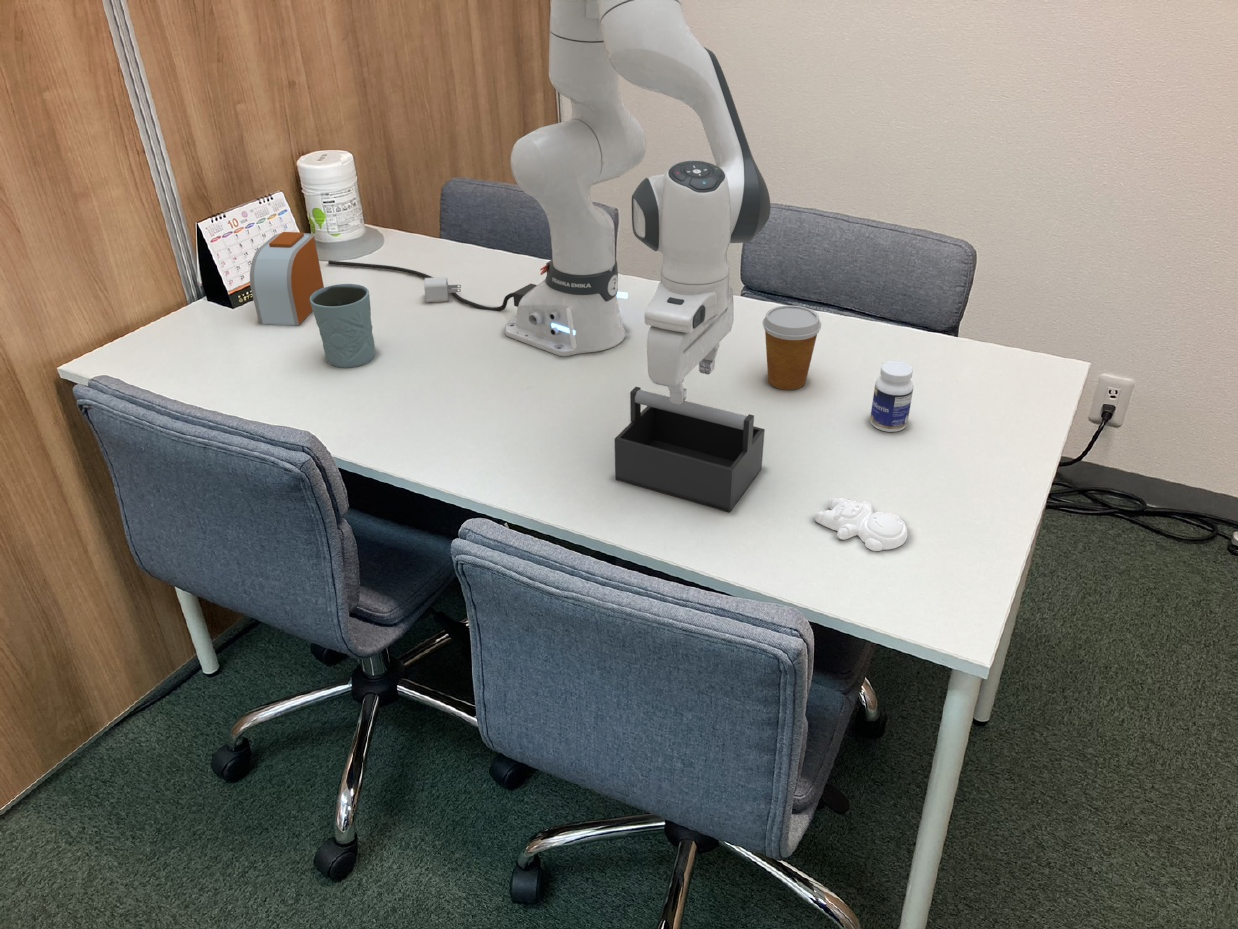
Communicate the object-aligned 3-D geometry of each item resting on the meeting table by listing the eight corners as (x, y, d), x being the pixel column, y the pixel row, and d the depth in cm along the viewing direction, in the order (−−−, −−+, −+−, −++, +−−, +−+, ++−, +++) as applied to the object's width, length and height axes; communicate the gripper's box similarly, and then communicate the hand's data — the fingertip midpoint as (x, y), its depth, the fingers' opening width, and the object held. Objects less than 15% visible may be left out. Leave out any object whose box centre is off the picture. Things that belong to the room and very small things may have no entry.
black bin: (614, 479, 144) (613, 407, 137) (651, 440, 152) (651, 371, 146) (730, 512, 136) (734, 439, 130) (762, 469, 145) (767, 398, 139)
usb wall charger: (427, 295, 199) (425, 276, 197) (461, 293, 200) (459, 274, 198) (426, 303, 196) (423, 284, 194) (461, 301, 197) (459, 282, 194)
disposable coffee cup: (814, 397, 163) (821, 331, 156) (756, 392, 164) (760, 326, 158) (816, 370, 170) (823, 306, 164) (760, 365, 172) (765, 302, 165)
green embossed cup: (338, 375, 172) (326, 311, 165) (311, 355, 178) (298, 293, 171) (390, 356, 177) (379, 294, 170) (362, 338, 184) (351, 277, 177)
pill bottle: (862, 419, 157) (870, 363, 151) (892, 411, 158) (901, 355, 153) (884, 436, 152) (892, 379, 147) (914, 428, 154) (924, 371, 149)
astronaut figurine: (840, 496, 139) (842, 479, 137) (918, 530, 132) (921, 512, 131) (806, 525, 134) (808, 507, 132) (885, 562, 127) (888, 543, 125)
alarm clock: (289, 292, 202) (275, 228, 194) (329, 293, 201) (316, 229, 193) (257, 323, 190) (241, 256, 182) (299, 325, 189) (285, 258, 181)
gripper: (704, 261, 137) (702, 351, 145) (637, 317, 122) (639, 414, 130) (747, 268, 135) (742, 359, 142) (684, 327, 120) (682, 425, 127)
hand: (692, 386), depth 136 cm, fingers open, 8 cm apart
